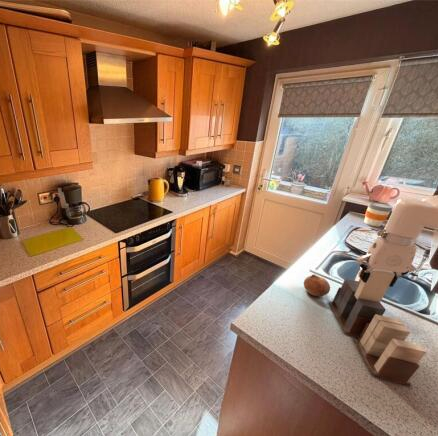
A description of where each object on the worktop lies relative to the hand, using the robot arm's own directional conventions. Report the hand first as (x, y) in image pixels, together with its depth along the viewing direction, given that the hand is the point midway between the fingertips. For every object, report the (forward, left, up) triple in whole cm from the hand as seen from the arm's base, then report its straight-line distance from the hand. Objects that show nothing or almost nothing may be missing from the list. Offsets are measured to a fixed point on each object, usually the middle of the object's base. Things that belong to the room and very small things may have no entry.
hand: (375, 281), depth 80 cm
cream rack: (-2, +15, -21) cm, 26 cm away
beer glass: (-8, -16, -21) cm, 28 cm away
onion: (+9, -14, -21) cm, 27 cm away
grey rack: (0, -1, -21) cm, 21 cm away
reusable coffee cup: (-54, -110, -21) cm, 125 cm away
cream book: (0, 0, -8) cm, 8 cm away
